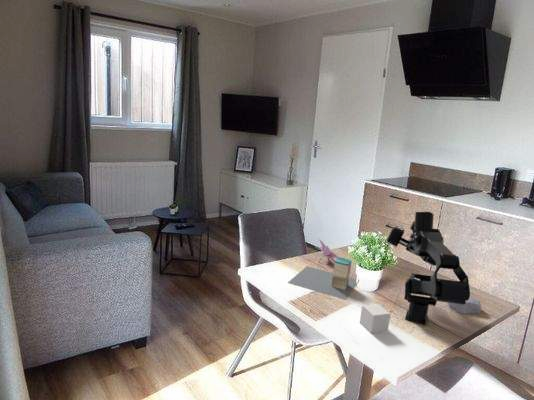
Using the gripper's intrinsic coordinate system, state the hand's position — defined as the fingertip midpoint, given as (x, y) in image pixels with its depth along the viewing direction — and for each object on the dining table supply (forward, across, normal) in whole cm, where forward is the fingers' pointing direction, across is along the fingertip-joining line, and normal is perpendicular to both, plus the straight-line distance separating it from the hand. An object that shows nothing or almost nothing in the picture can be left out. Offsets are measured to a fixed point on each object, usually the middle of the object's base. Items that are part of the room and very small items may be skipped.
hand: (408, 248), depth 147 cm
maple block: (-2, +16, +24) cm, 30 cm away
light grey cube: (-25, +4, +32) cm, 41 cm away
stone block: (-2, -24, +11) cm, 26 cm away
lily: (+20, +24, +18) cm, 36 cm away
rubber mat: (0, +22, +26) cm, 34 cm away
